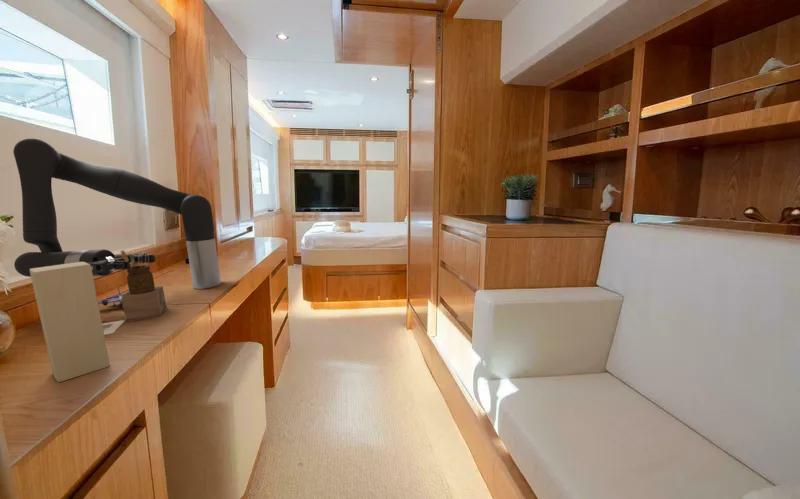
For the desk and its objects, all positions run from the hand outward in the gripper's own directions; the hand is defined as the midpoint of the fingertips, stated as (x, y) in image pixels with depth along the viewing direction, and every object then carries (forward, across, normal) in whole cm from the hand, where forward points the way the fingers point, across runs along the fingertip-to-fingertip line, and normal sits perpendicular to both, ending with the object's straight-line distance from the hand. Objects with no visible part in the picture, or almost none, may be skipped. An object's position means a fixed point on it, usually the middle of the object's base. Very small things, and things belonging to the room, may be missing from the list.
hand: (142, 261), depth 100 cm
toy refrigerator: (+12, -31, +16) cm, 36 cm away
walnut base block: (-1, 0, +16) cm, 16 cm away
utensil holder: (-2, 0, +9) cm, 9 cm away
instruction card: (-4, -11, +16) cm, 19 cm away
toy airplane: (-16, +7, +16) cm, 23 cm away
